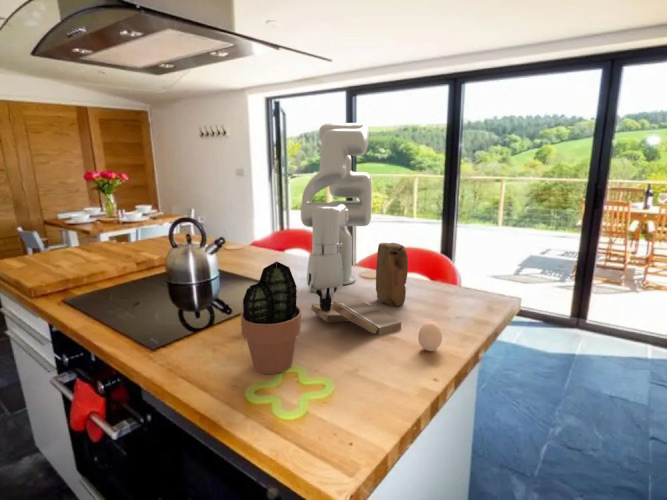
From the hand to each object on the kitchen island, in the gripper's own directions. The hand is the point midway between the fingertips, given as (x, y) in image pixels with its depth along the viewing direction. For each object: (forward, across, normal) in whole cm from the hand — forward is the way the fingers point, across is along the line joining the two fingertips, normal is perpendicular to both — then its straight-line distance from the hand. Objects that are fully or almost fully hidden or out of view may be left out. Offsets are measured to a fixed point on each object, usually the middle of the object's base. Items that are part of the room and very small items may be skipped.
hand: (325, 309), depth 115 cm
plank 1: (+3, -3, -1) cm, 4 cm away
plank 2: (+1, -3, +10) cm, 10 cm away
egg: (+4, -14, +28) cm, 32 cm away
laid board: (+4, -12, +5) cm, 14 cm away
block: (+4, -27, -4) cm, 28 cm away
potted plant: (+5, +23, +16) cm, 28 cm away
